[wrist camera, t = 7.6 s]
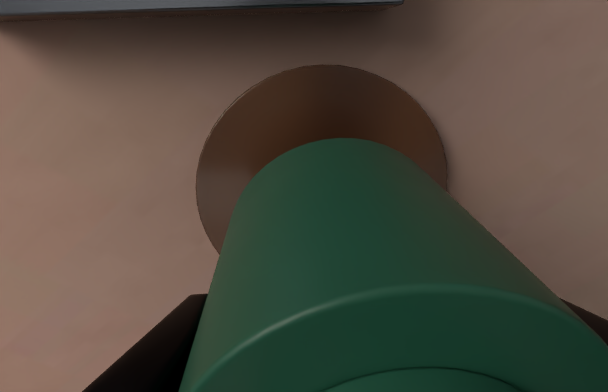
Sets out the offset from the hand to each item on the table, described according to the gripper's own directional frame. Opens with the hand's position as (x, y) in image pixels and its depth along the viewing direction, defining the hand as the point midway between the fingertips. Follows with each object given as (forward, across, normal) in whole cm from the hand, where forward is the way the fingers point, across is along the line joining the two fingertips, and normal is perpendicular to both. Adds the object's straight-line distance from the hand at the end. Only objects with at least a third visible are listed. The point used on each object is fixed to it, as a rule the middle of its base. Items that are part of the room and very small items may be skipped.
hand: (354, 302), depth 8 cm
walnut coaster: (+6, 0, 0) cm, 6 cm away
